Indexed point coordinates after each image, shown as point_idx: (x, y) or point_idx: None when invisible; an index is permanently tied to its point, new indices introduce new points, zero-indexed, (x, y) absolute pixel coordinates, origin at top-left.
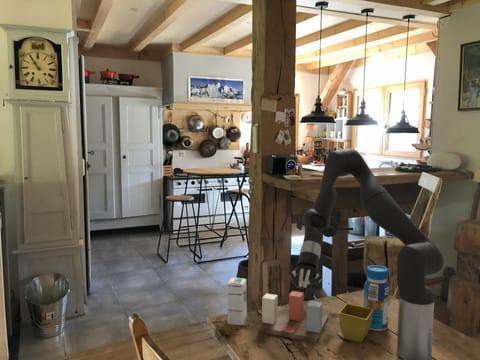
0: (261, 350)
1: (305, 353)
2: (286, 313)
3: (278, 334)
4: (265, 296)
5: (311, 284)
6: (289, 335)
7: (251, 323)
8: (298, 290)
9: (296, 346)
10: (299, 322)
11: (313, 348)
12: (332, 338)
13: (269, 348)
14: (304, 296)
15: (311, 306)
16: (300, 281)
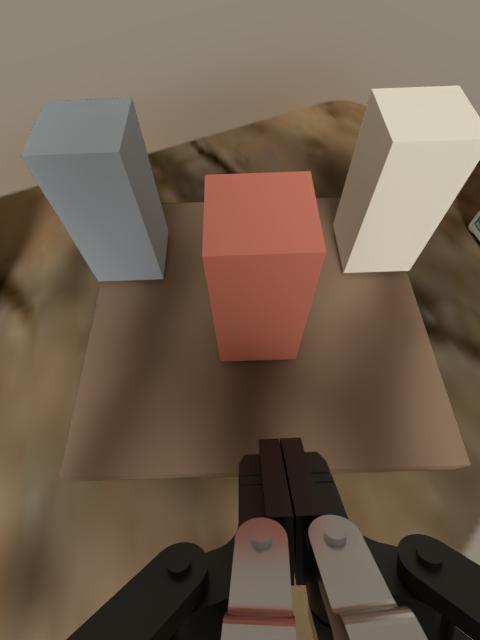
0: (296, 130)
1: (155, 159)
2: (337, 372)
3: None
4: (455, 102)
5: (157, 583)
6: None
7: (451, 255)
8: (334, 496)
9: (194, 180)
10: None
11: None
12: (57, 273)
13: (277, 144)
14: (243, 458)
15: (102, 104)
16: (373, 605)
